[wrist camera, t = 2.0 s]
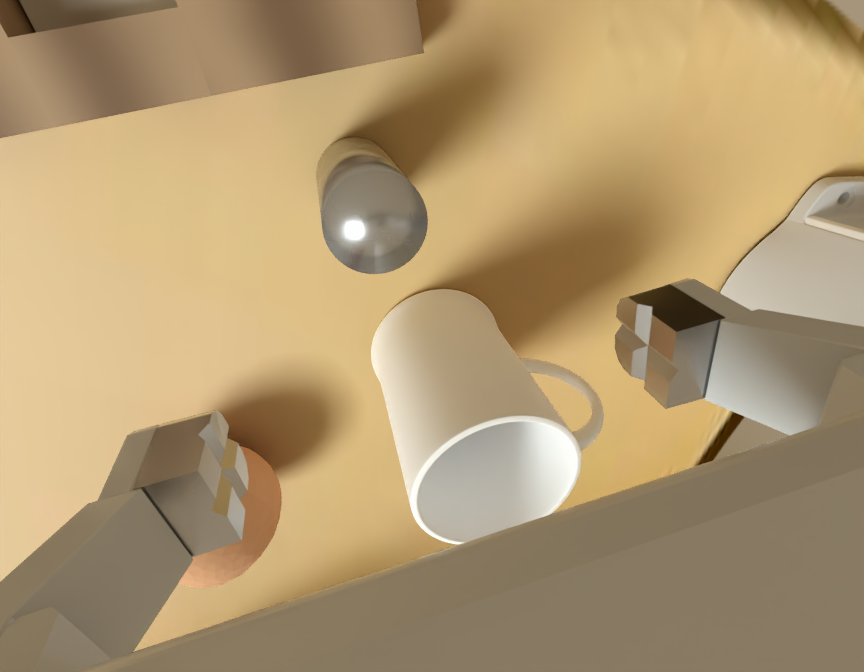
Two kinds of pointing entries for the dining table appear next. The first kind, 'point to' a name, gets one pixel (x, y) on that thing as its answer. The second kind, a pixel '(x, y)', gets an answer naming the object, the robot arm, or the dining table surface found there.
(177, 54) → the plate
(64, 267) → the dining table surface
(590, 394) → the mug
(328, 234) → the peg
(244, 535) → the egg
